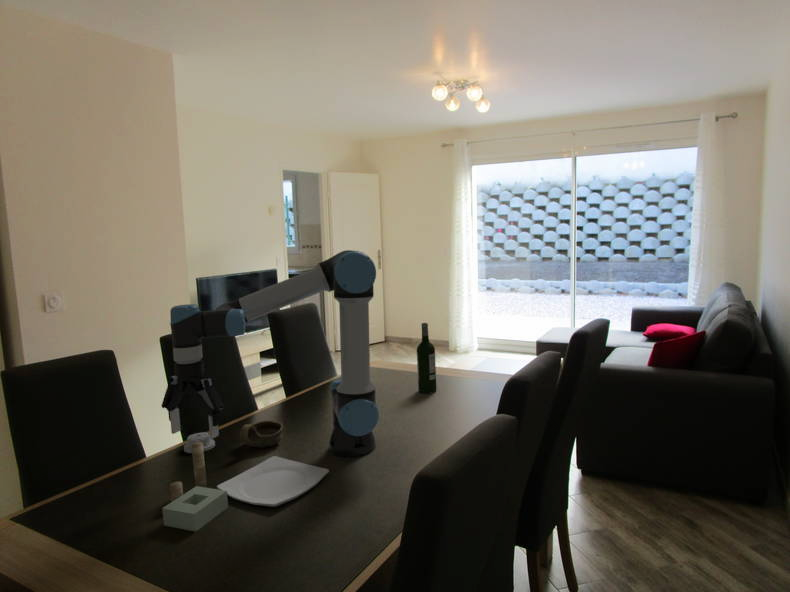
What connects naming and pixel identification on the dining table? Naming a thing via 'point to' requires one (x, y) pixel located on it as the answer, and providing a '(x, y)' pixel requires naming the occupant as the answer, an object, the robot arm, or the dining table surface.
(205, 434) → the mechanical component
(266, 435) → the brown mug
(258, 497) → the plate
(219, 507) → the hole block
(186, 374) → the robot arm
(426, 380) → the wine bottle
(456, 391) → the dining table surface
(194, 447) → the long dowel
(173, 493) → the short dowel
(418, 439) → the dining table surface
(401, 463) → the dining table surface
